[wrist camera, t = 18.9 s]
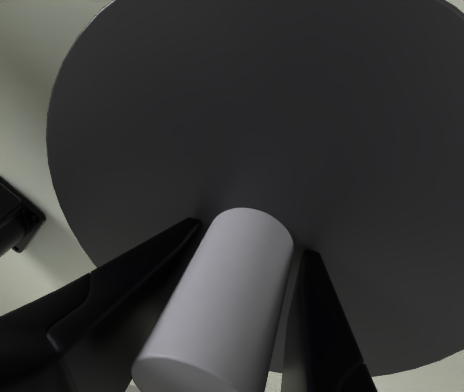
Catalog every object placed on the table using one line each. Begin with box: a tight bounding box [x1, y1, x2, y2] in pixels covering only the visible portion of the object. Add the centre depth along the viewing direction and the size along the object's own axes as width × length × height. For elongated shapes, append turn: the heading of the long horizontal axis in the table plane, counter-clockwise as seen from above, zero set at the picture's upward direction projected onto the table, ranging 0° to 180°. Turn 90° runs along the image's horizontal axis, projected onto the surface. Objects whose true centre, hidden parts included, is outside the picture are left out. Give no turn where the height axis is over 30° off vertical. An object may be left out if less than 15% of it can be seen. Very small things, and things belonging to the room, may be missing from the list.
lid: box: [46, 0, 464, 392], centre depth 8 cm, size 14×14×6 cm
